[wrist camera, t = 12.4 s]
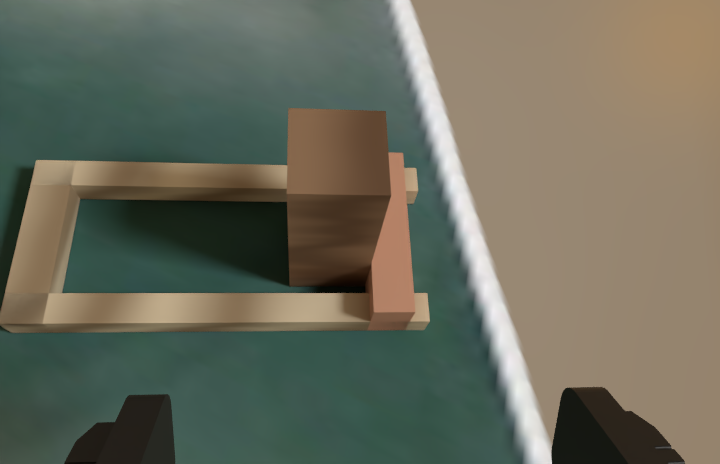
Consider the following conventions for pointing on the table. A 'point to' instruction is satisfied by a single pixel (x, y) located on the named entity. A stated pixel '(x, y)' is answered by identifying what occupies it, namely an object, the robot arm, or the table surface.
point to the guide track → (194, 310)
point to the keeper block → (335, 194)
